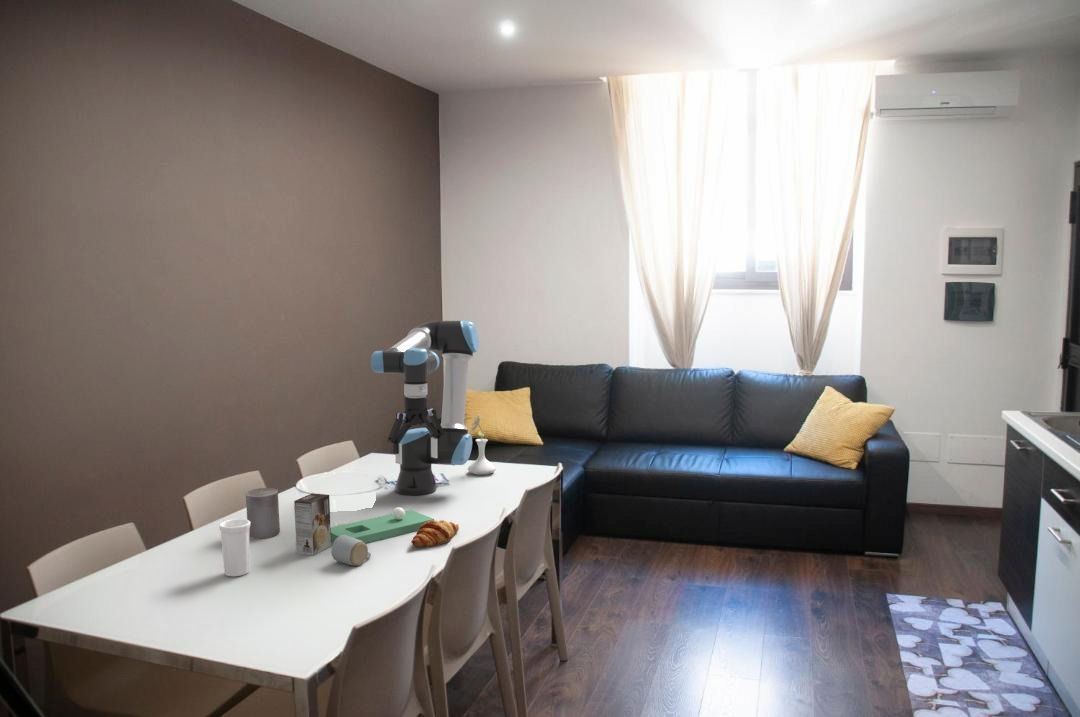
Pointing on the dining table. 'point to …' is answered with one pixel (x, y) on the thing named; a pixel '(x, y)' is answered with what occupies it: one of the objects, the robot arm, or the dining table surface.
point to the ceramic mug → (349, 550)
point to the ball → (398, 513)
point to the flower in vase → (480, 453)
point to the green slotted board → (381, 527)
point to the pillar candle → (263, 512)
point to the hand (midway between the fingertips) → (416, 460)
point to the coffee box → (312, 524)
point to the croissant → (434, 533)
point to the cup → (235, 546)
